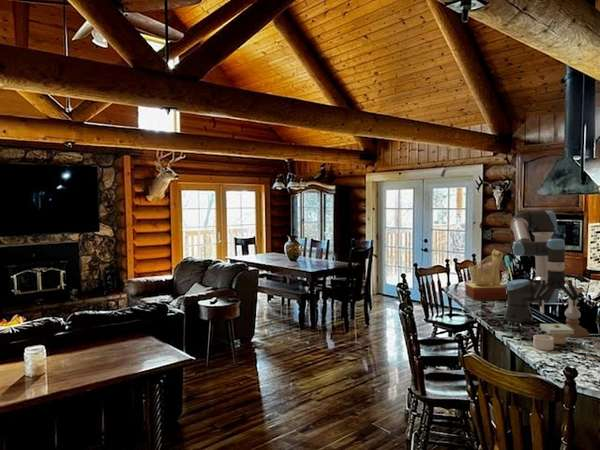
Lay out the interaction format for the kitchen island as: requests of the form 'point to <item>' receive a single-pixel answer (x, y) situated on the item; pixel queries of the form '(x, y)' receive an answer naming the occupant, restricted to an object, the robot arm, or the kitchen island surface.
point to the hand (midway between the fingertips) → (556, 312)
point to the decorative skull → (490, 269)
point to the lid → (556, 329)
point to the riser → (558, 338)
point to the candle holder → (575, 318)
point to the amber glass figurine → (486, 280)
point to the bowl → (543, 342)
